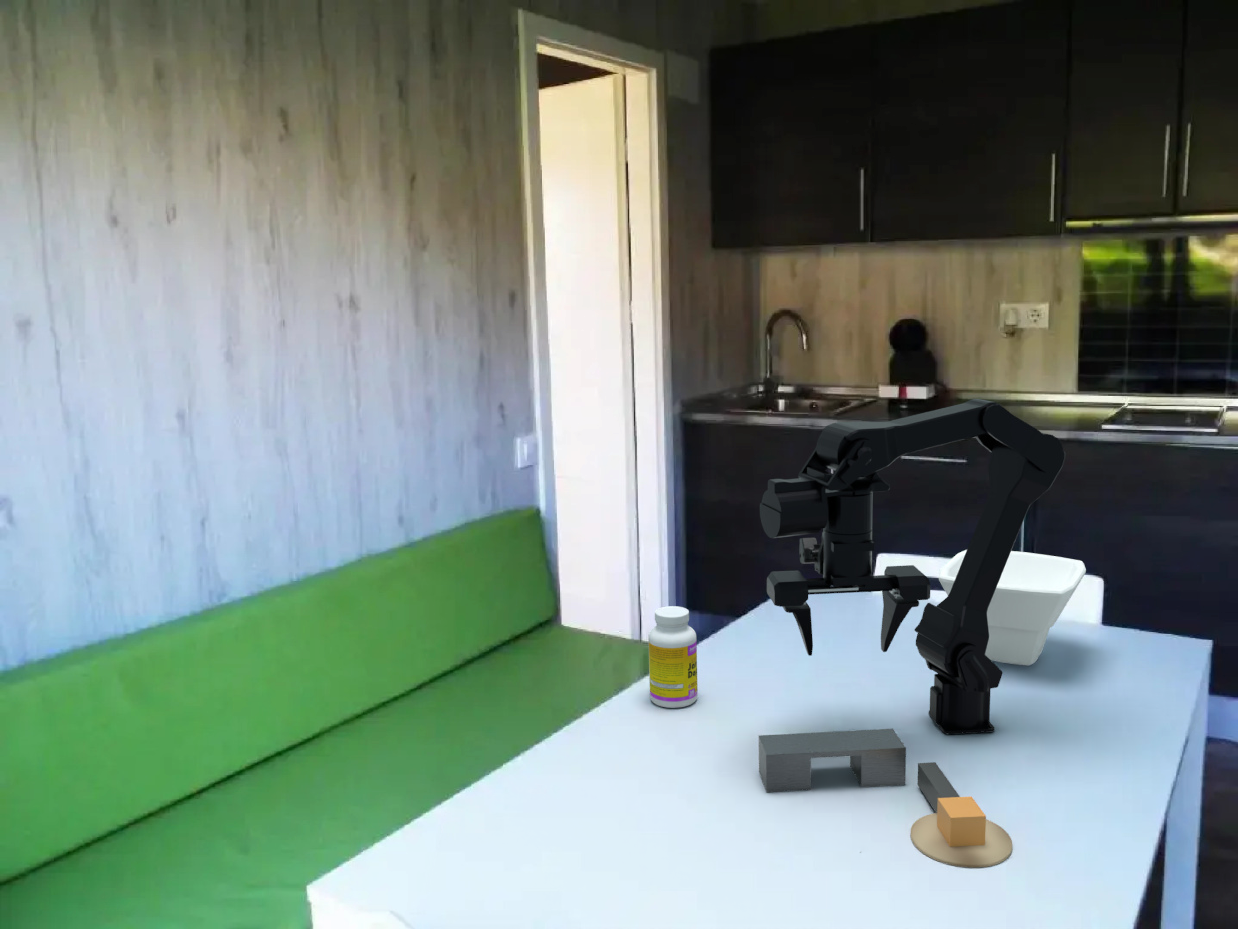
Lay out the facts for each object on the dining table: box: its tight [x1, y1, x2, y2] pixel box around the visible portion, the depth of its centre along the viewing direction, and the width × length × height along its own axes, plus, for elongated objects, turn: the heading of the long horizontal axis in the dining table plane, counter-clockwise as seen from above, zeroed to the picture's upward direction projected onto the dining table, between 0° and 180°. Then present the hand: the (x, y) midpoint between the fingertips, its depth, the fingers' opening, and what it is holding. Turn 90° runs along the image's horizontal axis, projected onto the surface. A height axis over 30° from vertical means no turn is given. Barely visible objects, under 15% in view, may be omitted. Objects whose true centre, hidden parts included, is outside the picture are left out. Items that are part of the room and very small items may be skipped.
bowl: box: [938, 549, 1087, 666], centre depth 156 cm, size 19×19×14 cm
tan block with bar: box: [916, 761, 987, 847], centre depth 113 cm, size 4×13×3 cm, turn 2°
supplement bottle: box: [647, 605, 698, 709], centre depth 145 cm, size 7×7×13 cm
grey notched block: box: [758, 728, 907, 793], centre depth 122 cm, size 16×5×5 cm, turn 92°
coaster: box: [909, 812, 1013, 869], centre depth 109 cm, size 10×10×1 cm
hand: (846, 652), depth 129 cm, fingers open, 9 cm apart
